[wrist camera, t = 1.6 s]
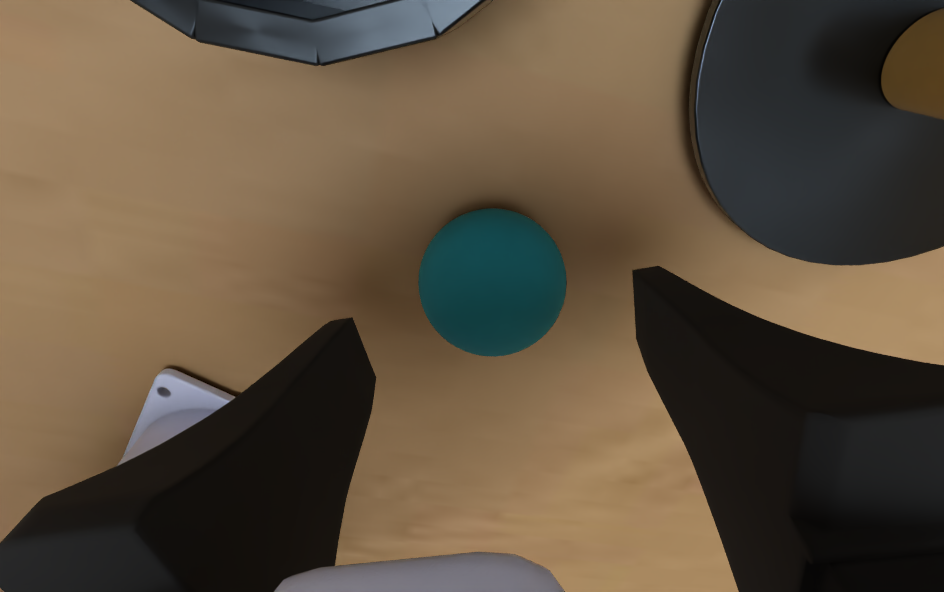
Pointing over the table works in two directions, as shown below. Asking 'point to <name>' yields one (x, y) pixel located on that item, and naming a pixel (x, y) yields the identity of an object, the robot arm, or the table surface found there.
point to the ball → (492, 282)
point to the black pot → (314, 25)
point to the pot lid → (824, 125)
